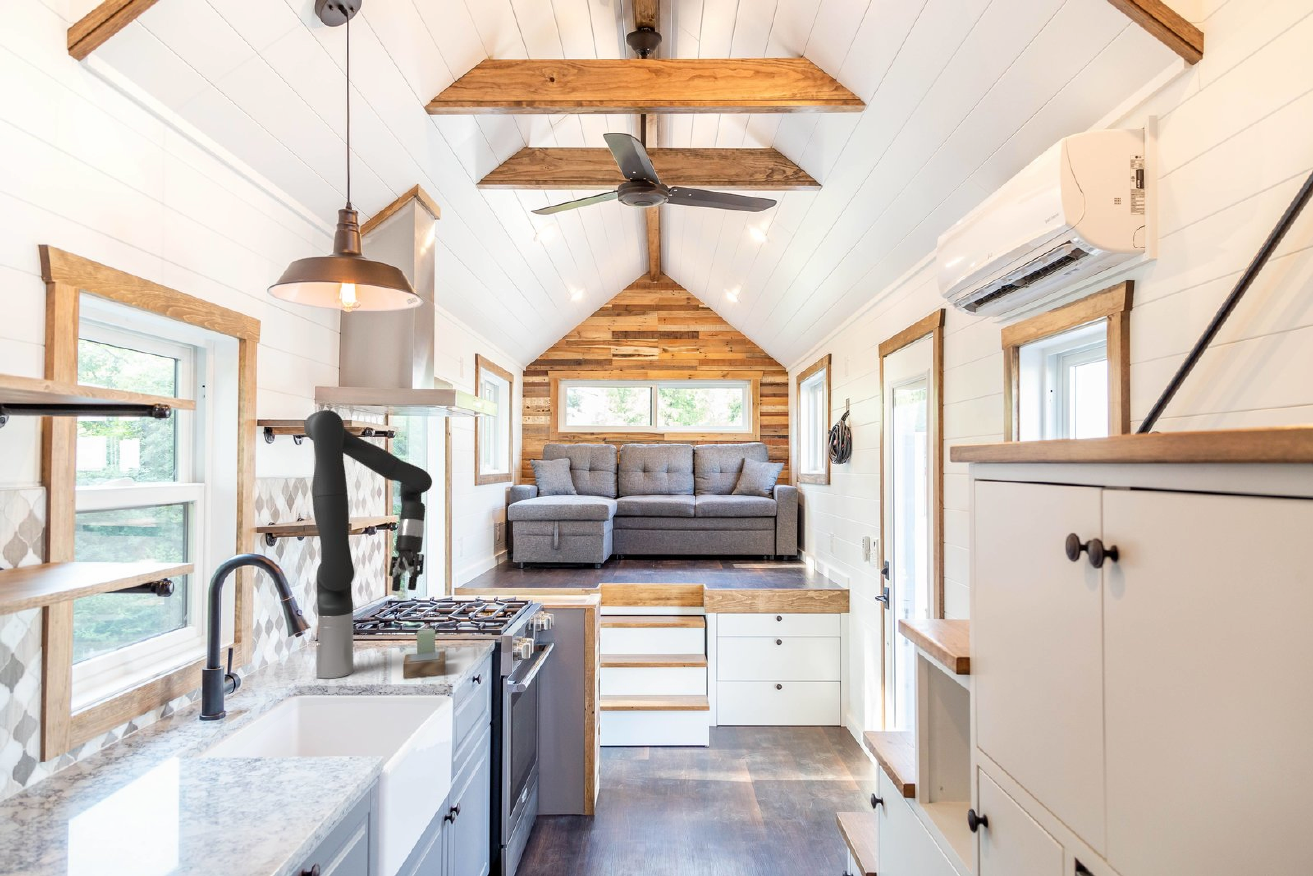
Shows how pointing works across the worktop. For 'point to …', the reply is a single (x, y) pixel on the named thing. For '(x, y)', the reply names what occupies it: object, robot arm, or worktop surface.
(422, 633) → the sage block
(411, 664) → the block
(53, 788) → the worktop surface
